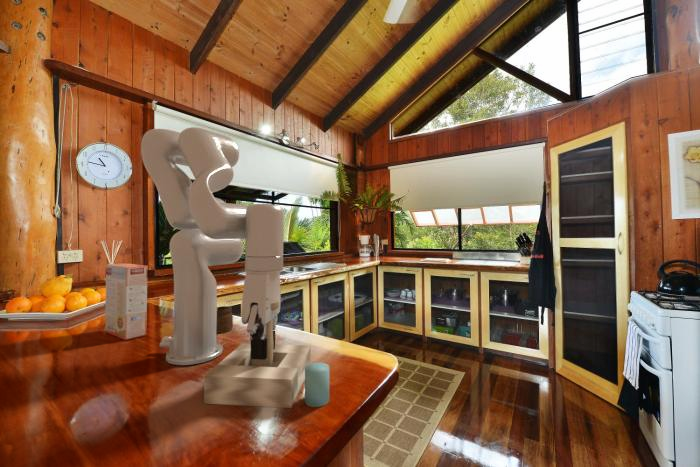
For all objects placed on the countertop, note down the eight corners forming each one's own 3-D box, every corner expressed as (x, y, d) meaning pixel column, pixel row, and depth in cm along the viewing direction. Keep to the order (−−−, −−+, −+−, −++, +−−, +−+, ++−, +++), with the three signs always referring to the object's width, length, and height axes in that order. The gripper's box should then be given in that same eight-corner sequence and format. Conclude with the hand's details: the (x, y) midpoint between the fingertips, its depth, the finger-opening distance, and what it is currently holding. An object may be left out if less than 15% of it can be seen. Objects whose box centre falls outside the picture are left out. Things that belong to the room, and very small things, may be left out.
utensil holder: (228, 333, 91) (228, 294, 91) (207, 333, 91) (207, 294, 91) (235, 327, 97) (236, 290, 97) (216, 327, 97) (216, 290, 97)
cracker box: (148, 335, 89) (148, 265, 89) (124, 341, 84) (124, 266, 84) (127, 327, 96) (127, 262, 96) (104, 332, 91) (104, 263, 91)
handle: (264, 383, 57) (265, 305, 57) (243, 374, 61) (244, 300, 61) (283, 373, 61) (284, 300, 61) (261, 365, 65) (262, 296, 65)
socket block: (204, 403, 54) (204, 375, 54) (242, 364, 70) (242, 343, 70) (291, 408, 52) (291, 379, 52) (310, 367, 68) (310, 345, 68)
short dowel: (302, 406, 53) (302, 372, 53) (307, 392, 58) (307, 361, 58) (327, 407, 53) (327, 373, 53) (330, 394, 57) (331, 362, 57)
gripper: (261, 260, 70) (260, 338, 70) (226, 269, 53) (225, 372, 53) (293, 261, 69) (292, 340, 69) (267, 270, 52) (266, 374, 53)
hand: (263, 352), depth 61 cm, fingers closed on handle, 4 cm apart
